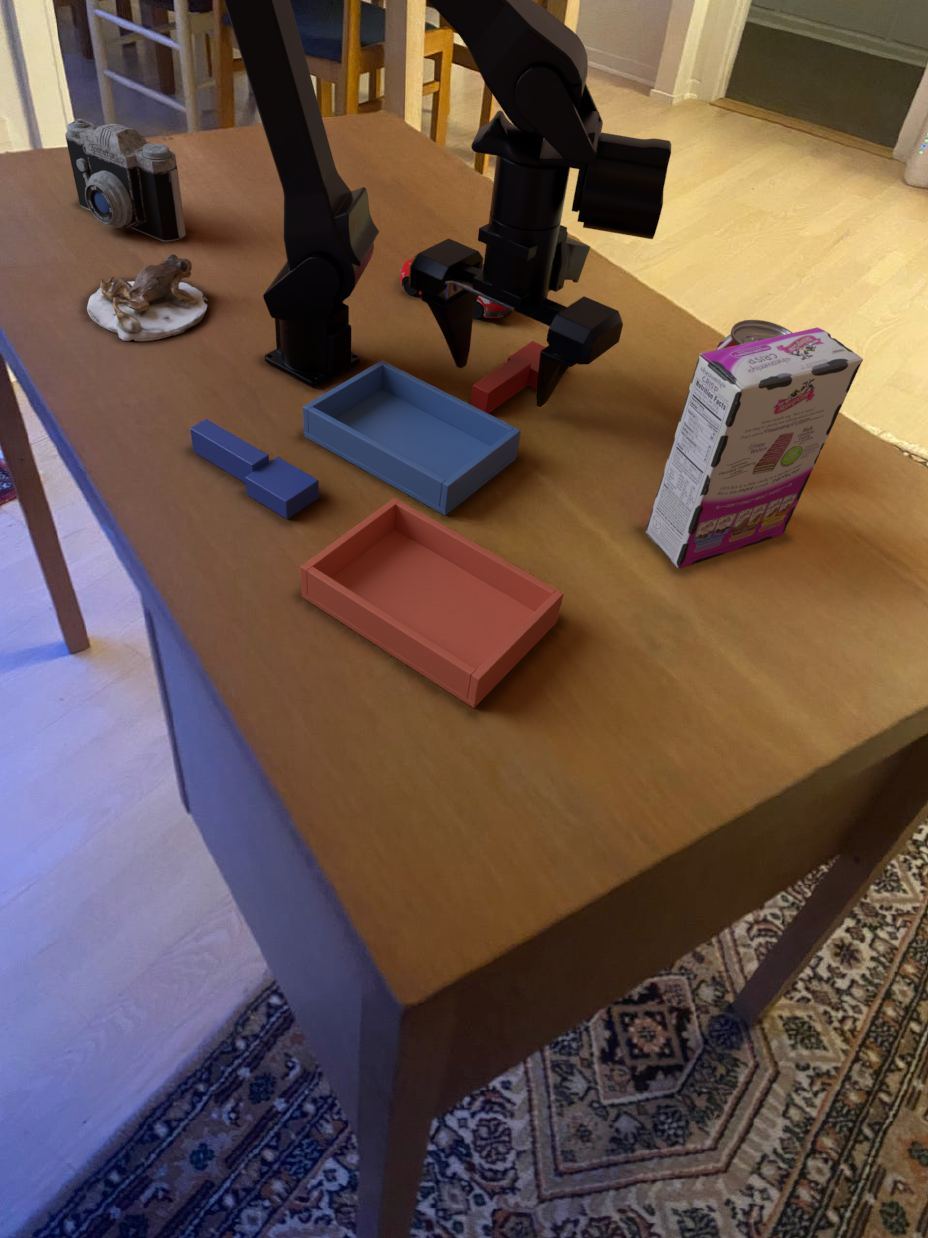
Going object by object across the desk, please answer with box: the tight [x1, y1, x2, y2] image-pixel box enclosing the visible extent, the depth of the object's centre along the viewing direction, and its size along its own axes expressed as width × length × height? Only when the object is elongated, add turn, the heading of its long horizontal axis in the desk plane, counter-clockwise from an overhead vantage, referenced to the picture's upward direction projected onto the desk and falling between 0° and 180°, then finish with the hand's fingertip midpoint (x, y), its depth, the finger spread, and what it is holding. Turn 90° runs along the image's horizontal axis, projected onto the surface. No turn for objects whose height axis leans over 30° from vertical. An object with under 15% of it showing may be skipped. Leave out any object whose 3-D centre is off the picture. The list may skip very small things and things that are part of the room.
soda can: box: [715, 319, 793, 350], centre depth 76 cm, size 7×7×12 cm
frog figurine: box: [86, 254, 208, 342], centre depth 87 cm, size 12×12×4 cm
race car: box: [399, 257, 513, 319], centre depth 94 cm, size 13×5×4 cm, turn 60°
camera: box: [64, 117, 187, 243], centre depth 96 cm, size 15×7×10 cm, turn 58°
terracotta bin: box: [300, 497, 565, 709], centre depth 63 cm, size 15×10×3 cm
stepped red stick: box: [469, 340, 547, 414], centre depth 84 cm, size 11×4×2 cm, turn 144°
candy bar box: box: [645, 326, 864, 570], centre depth 67 cm, size 11×5×16 cm, turn 117°
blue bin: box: [302, 360, 522, 516], centre depth 76 cm, size 15×10×3 cm
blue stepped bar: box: [189, 418, 320, 520], centre depth 71 cm, size 11×4×2 cm, turn 54°
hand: (500, 385), depth 83 cm, fingers open, 9 cm apart
